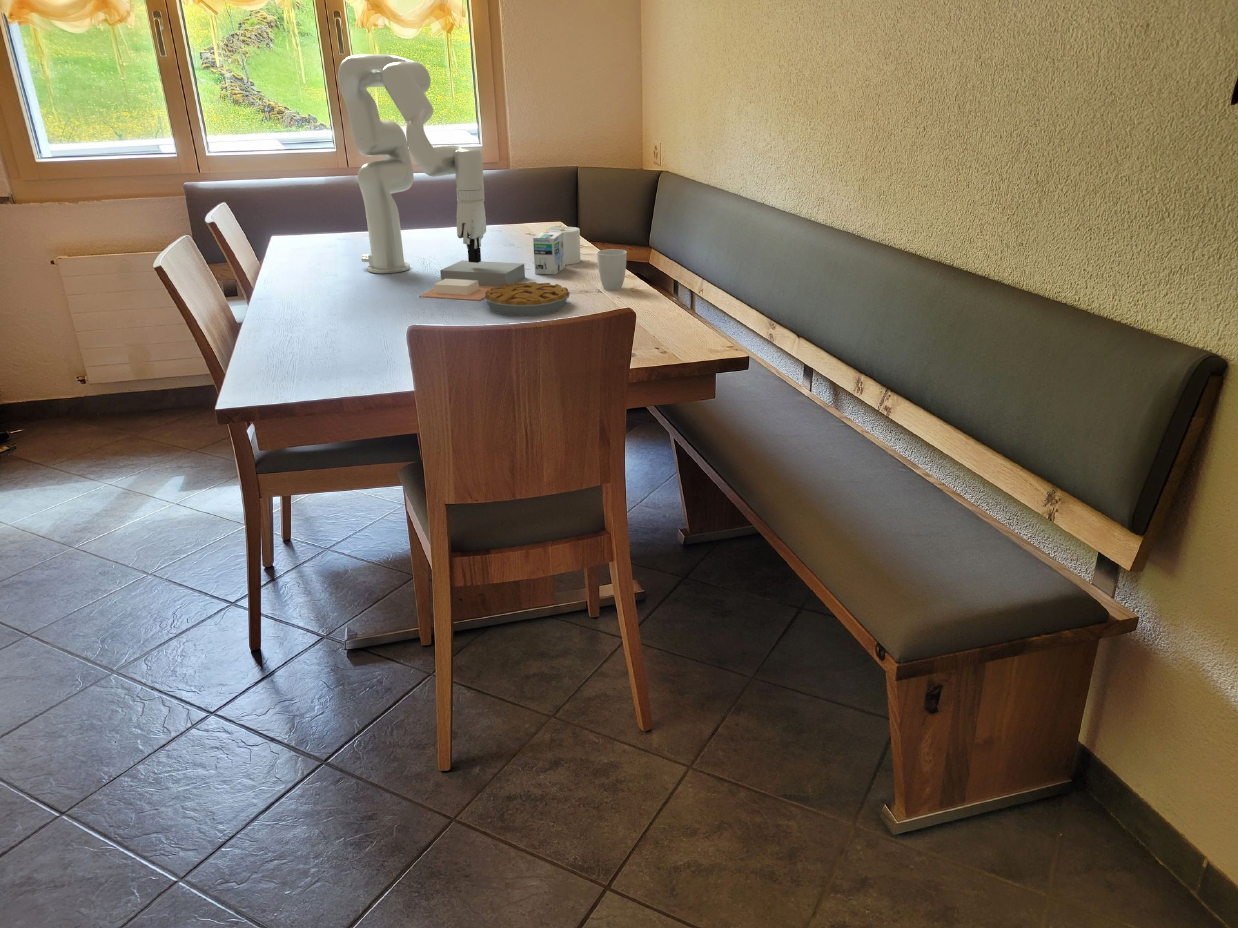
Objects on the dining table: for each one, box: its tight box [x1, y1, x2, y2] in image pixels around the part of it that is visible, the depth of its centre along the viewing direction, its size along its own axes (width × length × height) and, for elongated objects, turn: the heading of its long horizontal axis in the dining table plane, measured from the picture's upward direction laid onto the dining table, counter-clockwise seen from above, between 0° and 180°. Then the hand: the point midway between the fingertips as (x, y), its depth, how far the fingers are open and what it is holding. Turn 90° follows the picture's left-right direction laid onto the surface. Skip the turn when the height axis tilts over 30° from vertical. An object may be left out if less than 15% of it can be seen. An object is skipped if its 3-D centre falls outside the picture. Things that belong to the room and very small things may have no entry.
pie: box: [483, 281, 571, 317], centre depth 226 cm, size 22×22×5 cm
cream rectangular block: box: [433, 279, 479, 295], centre depth 242 cm, size 10×7×2 cm
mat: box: [418, 285, 497, 302], centre depth 242 cm, size 18×15×1 cm
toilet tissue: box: [545, 224, 582, 266], centre depth 276 cm, size 11×12×10 cm
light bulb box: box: [532, 231, 565, 275], centre depth 264 cm, size 11×7×11 cm, turn 168°
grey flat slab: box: [439, 259, 526, 287], centre depth 254 cm, size 20×14×4 cm
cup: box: [596, 248, 628, 291], centre depth 242 cm, size 8×8×10 cm
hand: (474, 261), depth 251 cm, fingers closed
